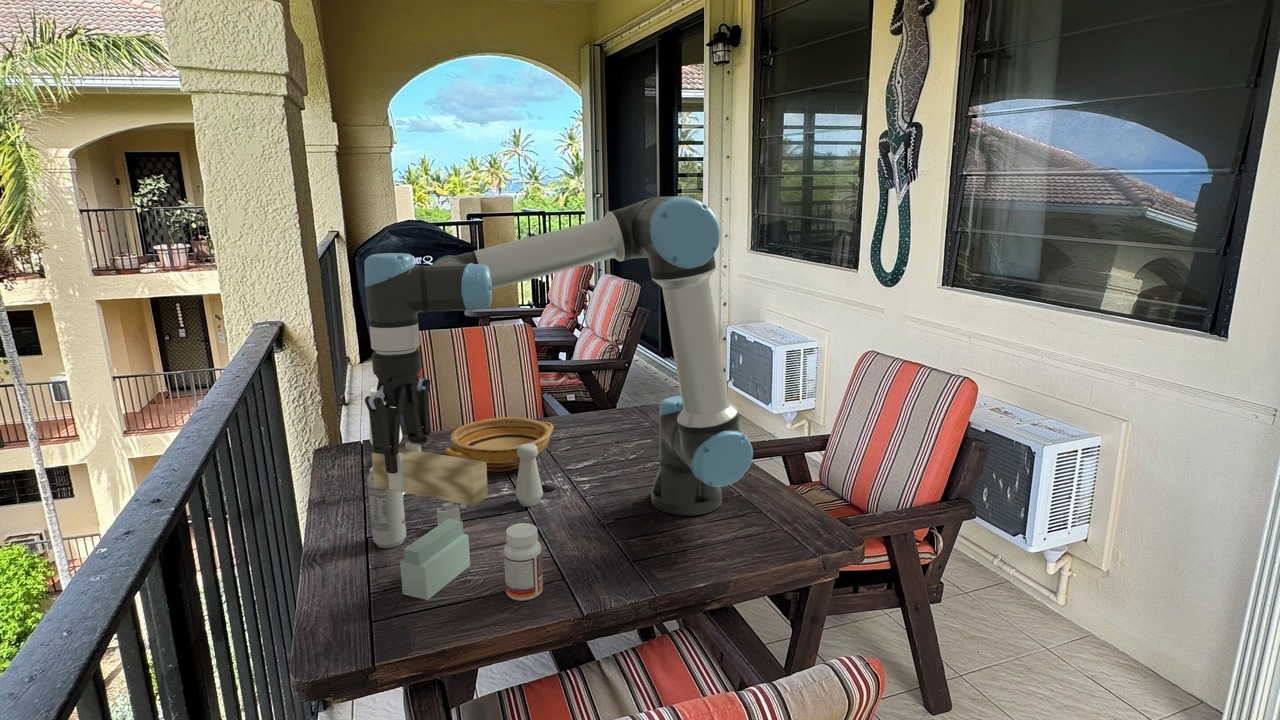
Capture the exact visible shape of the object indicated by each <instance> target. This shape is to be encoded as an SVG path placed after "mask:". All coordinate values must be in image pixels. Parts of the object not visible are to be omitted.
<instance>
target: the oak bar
mask: <svg viewBox="0 0 1280 720" xmlns="http://www.w3.org/2000/svg"><path fill="white" fill-rule="evenodd" d="M390 447H391V446H390ZM398 452H399V453H402V454H403V467H404V480H405V490H404V491H399V492H404V493H407V494H411V495H417V496H422V497H426V498H432V499H437V500H440V501H447V502H452V503H456V504H457V503H462V504H467V506H472V507H473V506H475V505H477V504H479V503H481V502H482V501H484V500H485V499H486V498H488V497H489V495H488V494H489V493H488V474H487V473H488V470H487V467H486V462H483V461H477V460H471V459H465V458H458V457H452V456H450V455H447V454H446V455H445V454H441V453H440V454H438V453H433V452H427V451H423V452H422V451H415V450H409V449H405V448H402V447H399V451H398ZM371 462H372V463H371V464H372V467H373V477H374V487H378V488H383V489H388V490H392V489H389V480H388V473H387V472H386V466H385V465H386V464H385V456H384V455H383V454H377V453H374V452H372V453H371ZM394 491H397V490H394Z"/></svg>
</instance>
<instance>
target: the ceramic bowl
mask: <svg viewBox="0 0 1280 720" xmlns="http://www.w3.org/2000/svg"><path fill="white" fill-rule="evenodd" d="M553 431H554V425H553V424H552V423H551V422H549V421H540V420H537V419H533V418H527V417H517V416H515V417H513V416H512V417H510V416H509V417H508V416H507V417H494V418H487V419H485V418H484V419H481V420H477V421H473V422H469V423H466V424H463V425H462V426H460V427H457V428H456V429H455V430H453V431H452V433H451V434H450V436H449V439H450V442H452V445H453V446H452V447H447V448H445V450H444V452H445V454H446V455H447V456H452V457H458V458H465V459H471V460H477V461H483V462H486V467H487V471H490V472H509V471H513V469H514V470H517V469H519V464H520V457H518V453H517V449H518V447H519V446H520V445H523V444H534V445H536V446H537V449H538V455H537V456H536V457H535V458H537V457H539V456H540V455H541V454H542V453H543V452H544V451H545V450H546V449H547V446H548V445H549V441H550V438H551V435H552V433H553ZM508 470H509V471H508Z"/></svg>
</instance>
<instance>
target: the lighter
mask: <svg viewBox="0 0 1280 720" xmlns="http://www.w3.org/2000/svg"><path fill="white" fill-rule="evenodd" d="M467 506H468V505H467V504H462V503H457V502H456V504H454V502H451V501H448V502H446V503H442V505H441V506H440V508H438V509H436V518H437V519H436V520H437V526H438V525H440V524H441V523H443V522H444V521H446V520H447V519H453V520H458V521H461V511H460V508H462V509H466V508H467Z"/></svg>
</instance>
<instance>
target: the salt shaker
mask: <svg viewBox="0 0 1280 720" xmlns="http://www.w3.org/2000/svg"><path fill="white" fill-rule="evenodd" d="M517 453H518V457H520V464H519V468H518V471H517V472H518V473H517V480H516V485H515V487H516V488H515V496H516V498H517V500H518V502H519V504H520V505H521V506H522V507H529V508H532V507H535V506H537V505H539V503H540V500H541V499H542V497H543V496H544V490H543V487H542V483H541V482H542V481H541V477H540V473H539V467H538V463H537V459H536V458H537V457H538V456H539V455H538V449H537V446H536V445H534V444H523V445H520V446H519V447H518V449H517ZM537 455H538V456H537ZM536 456H537V457H536ZM535 457H536V458H535Z"/></svg>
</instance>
